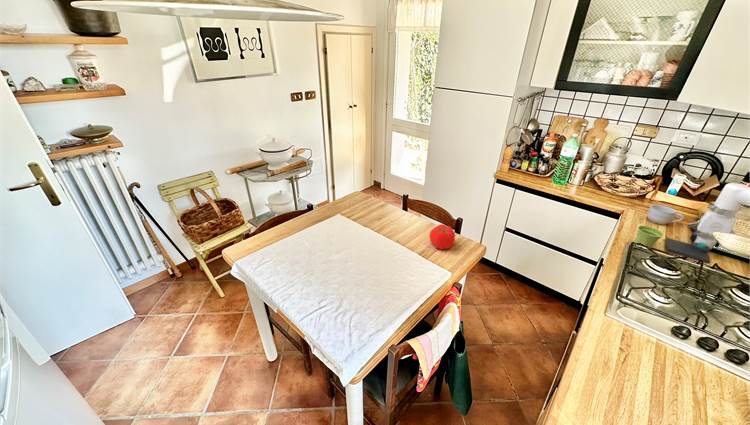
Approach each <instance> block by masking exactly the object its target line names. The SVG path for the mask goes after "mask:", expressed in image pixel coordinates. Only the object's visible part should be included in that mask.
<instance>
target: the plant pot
mask: <svg viewBox="0 0 750 425" xmlns="http://www.w3.org/2000/svg"><path fill="white" fill-rule="evenodd" d="M664 234H665V233H664V232H663V231H661V230H660V229H658V228H656V227H652V226H649V225H638V226H637V233H636V237H635V240H634V243H641V244H643V245H645V246H648V247H650V248H651V249H652V248H653V247H654V246H655V244H656V243H657V242H658V241H659V240H660V239H661V238H662V237H664V236H665V235H664Z"/></svg>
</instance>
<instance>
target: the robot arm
mask: <svg viewBox="0 0 750 425" xmlns="http://www.w3.org/2000/svg"><path fill="white" fill-rule="evenodd" d="M743 205H744V206H747V207H750V187H749V186H748V185H745V184H741V183H737V182H729V183H726V184H725V185H724V187H723V188H722V189H721V191H720V193H719V195H718V197H717V198H716V200H715V202H714V203H713V204H711V205H710V204H708V205H707V207H706V208H707V209H708V210H706V211H705V213H704V214H703V215H702V216H701V217H700V219H699V220H698V221H693V222H689V223H687V227H688V228H689V230H690V232H691V235H690V236H689V241H690V242H691V244H692V243H693V242H694V241H695V239H696V237H697V234H698V233H703V234H708V235H711V236H714V235H713V233H714V232H721V233H730V234H731V233H733V234H737V233H736V232H735V231H734V229H733V228H734V227H735V223H736V222H737V216H736V214H737V213H738V211H739V210H740V209H741V206H743ZM695 226H696V228H694V227H695ZM718 246H719V243H718V242H717V243H716V245H715V247H717V248H719V247H720V246H719V247H718Z"/></svg>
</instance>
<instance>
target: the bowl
mask: <svg viewBox="0 0 750 425" xmlns="http://www.w3.org/2000/svg"><path fill="white" fill-rule="evenodd" d="M714 237H715V236H714V235H711V234H707V233H703V232H700V233H698V234H697V237H696V239H695V241H694V242H693V243H699V242H702V243H705V244H707V246H708V247H710V249H711V250H712V248H713V247H714V246H715V245H716V243H717V242H718V241H716V240H715V239H714ZM713 249H714V248H713Z"/></svg>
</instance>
